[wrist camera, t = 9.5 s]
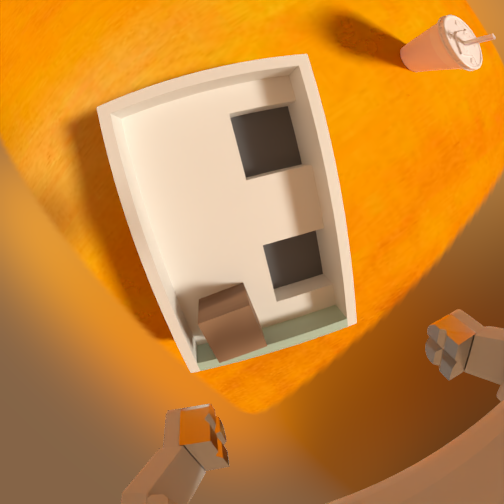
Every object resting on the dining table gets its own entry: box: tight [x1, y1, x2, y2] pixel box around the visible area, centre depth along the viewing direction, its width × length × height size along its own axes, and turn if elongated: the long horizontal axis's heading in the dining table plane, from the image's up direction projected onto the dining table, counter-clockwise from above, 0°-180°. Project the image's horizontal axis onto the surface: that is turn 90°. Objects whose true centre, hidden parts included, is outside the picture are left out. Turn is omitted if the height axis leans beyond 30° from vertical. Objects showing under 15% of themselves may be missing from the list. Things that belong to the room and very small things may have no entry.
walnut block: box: [198, 283, 267, 363], centre depth 25 cm, size 4×4×4 cm
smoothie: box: [400, 15, 495, 72], centre depth 18 cm, size 6×6×14 cm
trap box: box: [97, 54, 357, 373], centre depth 25 cm, size 25×17×6 cm
